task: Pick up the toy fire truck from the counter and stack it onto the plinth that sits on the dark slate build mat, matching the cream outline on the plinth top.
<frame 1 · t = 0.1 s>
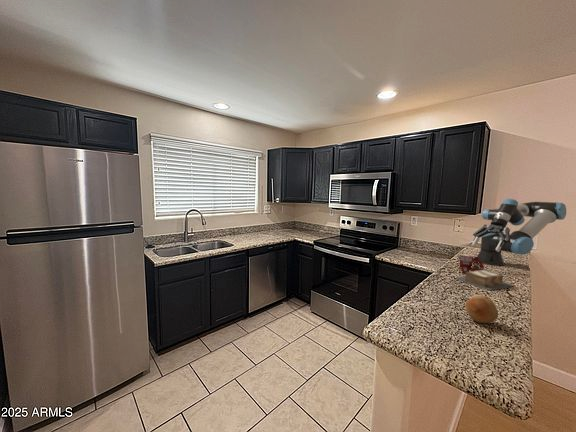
hand: (484, 248, 152), 15 cm above the countertop, tool tilted 35°, fingers open, 13 cm apart
toy fire truck: (470, 273, 151), on the countertop, touching build mat
onion: (479, 321, 94), on the countertop
build mat: (483, 282, 136), on the countertop
plinth: (483, 283, 134), resting on build mat
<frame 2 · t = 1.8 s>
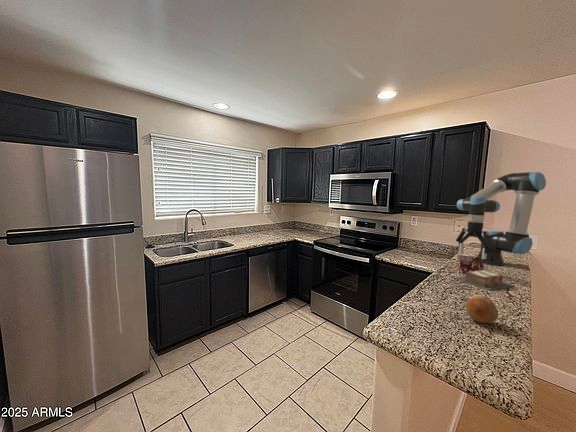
hand: (472, 255, 150), 11 cm above the countertop, tool pointing down, fingers open, 13 cm apart
nothing on the countertop moved.
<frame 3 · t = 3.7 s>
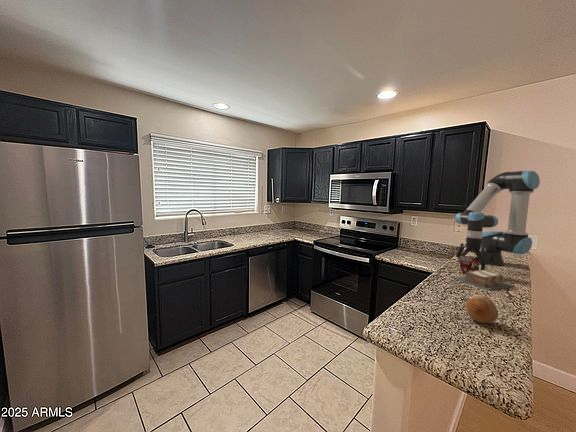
hand: (470, 271, 151), 1 cm above the countertop, tool pointing down, fingers closed on toy fire truck, 11 cm apart
toy fire truck: (470, 273, 151), on the countertop, touching gripper
everything else where it was.
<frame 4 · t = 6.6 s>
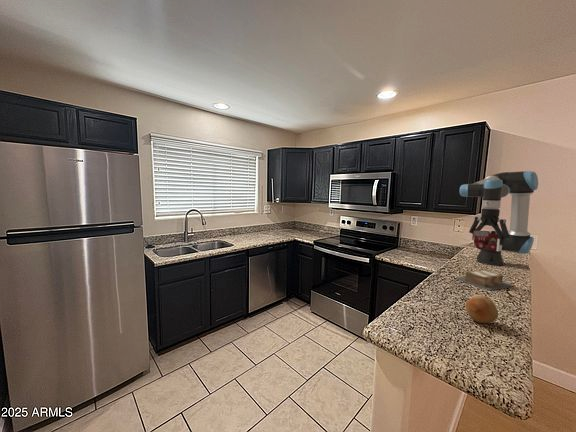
hand: (486, 248, 132), 20 cm above the countertop, tool pointing down, fingers closed on toy fire truck, 11 cm apart
toy fire truck: (487, 249, 132), point 19 cm above the countertop, touching gripper
everything else where it was.
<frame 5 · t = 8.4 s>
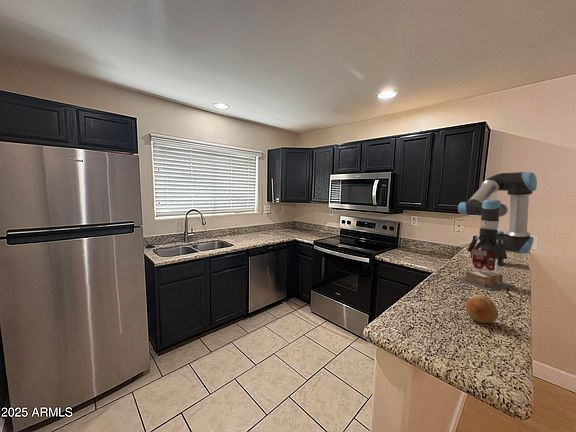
hand: (484, 267, 133), 9 cm above the countertop, tool pointing down, fingers closed on toy fire truck, 11 cm apart
toy fire truck: (485, 269, 133), point 8 cm above the countertop, touching gripper
everything else where it was.
when the fingers open (8 cm above the countertop, at t = 9.7 s): toy fire truck drops 2 cm, resting on plinth.
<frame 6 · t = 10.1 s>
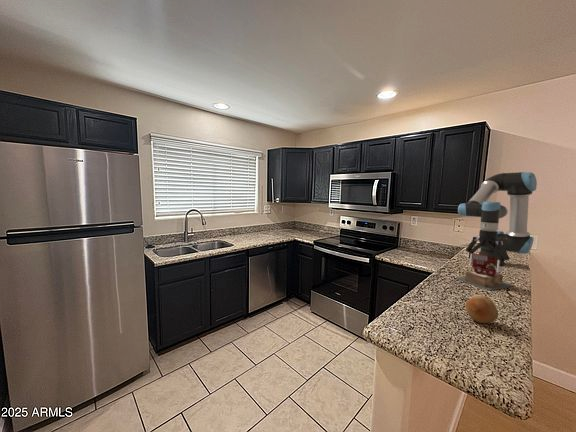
hand: (484, 268, 133), 9 cm above the countertop, tool pointing down, fingers open, 13 cm apart
toy fire truck: (484, 274, 133), point 5 cm above the countertop, touching plinth
everything else where it was.
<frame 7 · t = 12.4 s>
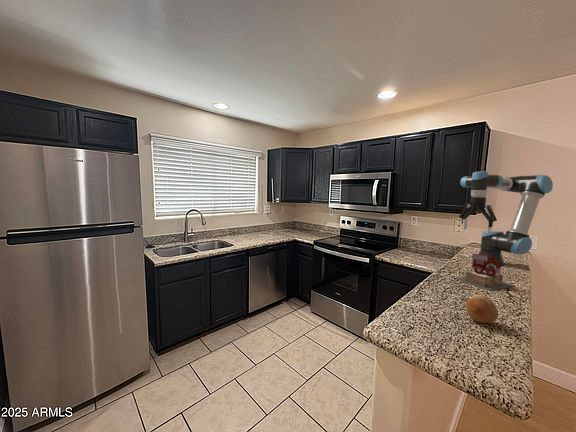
hand: (475, 230, 151), 26 cm above the countertop, tool pointing down, fingers open, 13 cm apart
nothing on the countertop moved.
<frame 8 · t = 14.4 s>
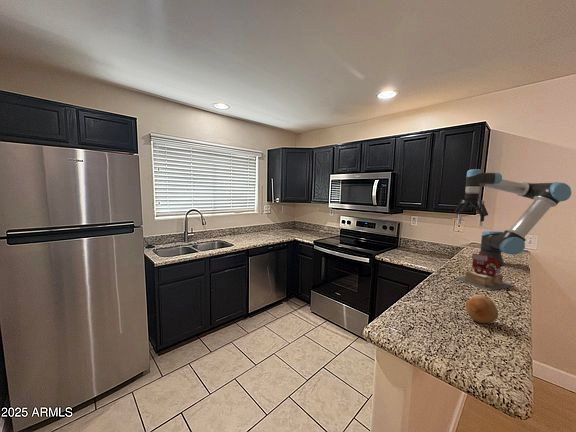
hand: (469, 224, 162), 29 cm above the countertop, tool pointing down, fingers open, 13 cm apart
nothing on the countertop moved.
at the end: toy fire truck inside the target area on the plinth (0.3 cm from its centre), point 5.5 cm above the plinth's base; toy fire truck tilted 0°; the gripper is holding nothing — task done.
